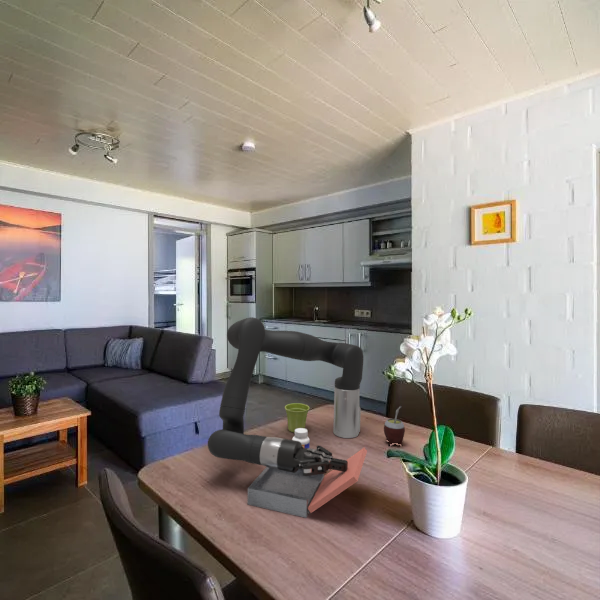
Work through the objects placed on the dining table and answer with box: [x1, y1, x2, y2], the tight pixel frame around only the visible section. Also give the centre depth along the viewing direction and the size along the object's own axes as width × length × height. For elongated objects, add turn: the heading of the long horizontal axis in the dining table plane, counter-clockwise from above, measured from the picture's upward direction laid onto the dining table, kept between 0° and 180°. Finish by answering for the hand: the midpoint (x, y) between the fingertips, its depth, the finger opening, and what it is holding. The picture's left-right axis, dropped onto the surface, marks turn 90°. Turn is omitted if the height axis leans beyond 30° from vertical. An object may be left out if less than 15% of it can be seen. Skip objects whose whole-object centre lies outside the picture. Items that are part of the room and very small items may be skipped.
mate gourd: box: [383, 405, 406, 445], centre depth 124 cm, size 8×8×15 cm
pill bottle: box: [291, 428, 311, 448], centre depth 109 cm, size 5×5×10 cm
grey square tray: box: [247, 466, 325, 519], centre depth 92 cm, size 15×16×4 cm
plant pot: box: [284, 402, 311, 433], centre depth 135 cm, size 9×9×9 cm
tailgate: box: [308, 447, 368, 514], centre depth 88 cm, size 2×16×14 cm
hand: (347, 466), depth 87 cm, fingers closed
